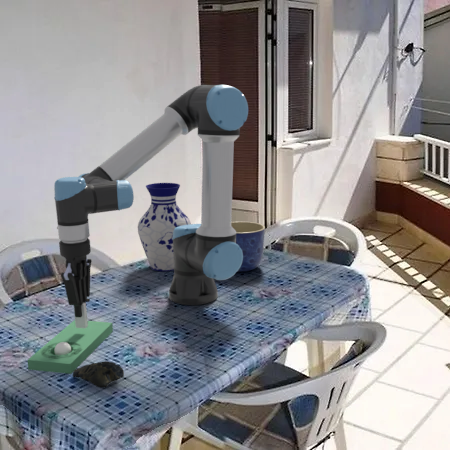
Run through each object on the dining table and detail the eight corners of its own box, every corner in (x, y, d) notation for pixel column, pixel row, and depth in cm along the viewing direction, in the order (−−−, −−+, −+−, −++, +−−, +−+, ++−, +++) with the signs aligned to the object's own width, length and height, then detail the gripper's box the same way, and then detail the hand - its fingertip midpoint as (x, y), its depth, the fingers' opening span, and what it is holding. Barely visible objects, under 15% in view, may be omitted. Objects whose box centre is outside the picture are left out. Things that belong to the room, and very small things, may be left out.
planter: (266, 275, 212) (266, 232, 209) (216, 275, 213) (216, 233, 209) (263, 261, 229) (263, 221, 225) (218, 261, 229) (217, 221, 225)
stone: (84, 369, 146) (82, 349, 145) (131, 379, 140) (130, 358, 139) (65, 382, 140) (63, 361, 138) (114, 393, 134) (112, 371, 133)
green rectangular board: (75, 328, 169) (74, 319, 169) (112, 331, 167) (112, 322, 166) (28, 369, 145) (27, 359, 145) (71, 373, 143) (70, 364, 142)
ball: (75, 351, 152) (73, 345, 149) (64, 364, 150) (62, 358, 147) (62, 342, 153) (60, 336, 150) (52, 355, 151) (49, 349, 148)
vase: (198, 261, 229) (196, 181, 222) (183, 277, 211) (180, 191, 204) (150, 258, 234) (146, 180, 227) (131, 273, 216) (127, 189, 209)
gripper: (72, 232, 161) (79, 316, 167) (48, 245, 148) (56, 336, 154) (98, 233, 159) (105, 318, 165) (76, 247, 147) (84, 338, 153)
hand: (81, 326), depth 160 cm, fingers closed
